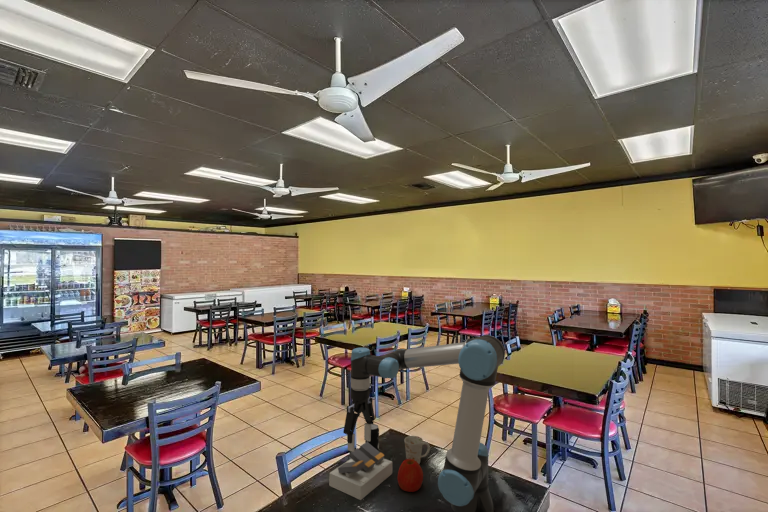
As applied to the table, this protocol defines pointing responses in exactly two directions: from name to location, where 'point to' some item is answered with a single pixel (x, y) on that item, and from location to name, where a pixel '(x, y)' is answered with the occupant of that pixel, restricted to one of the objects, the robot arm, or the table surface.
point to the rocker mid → (360, 456)
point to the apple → (410, 475)
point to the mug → (415, 448)
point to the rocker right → (372, 452)
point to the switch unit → (360, 479)
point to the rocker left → (351, 467)
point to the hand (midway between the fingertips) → (359, 445)
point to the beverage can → (374, 436)
